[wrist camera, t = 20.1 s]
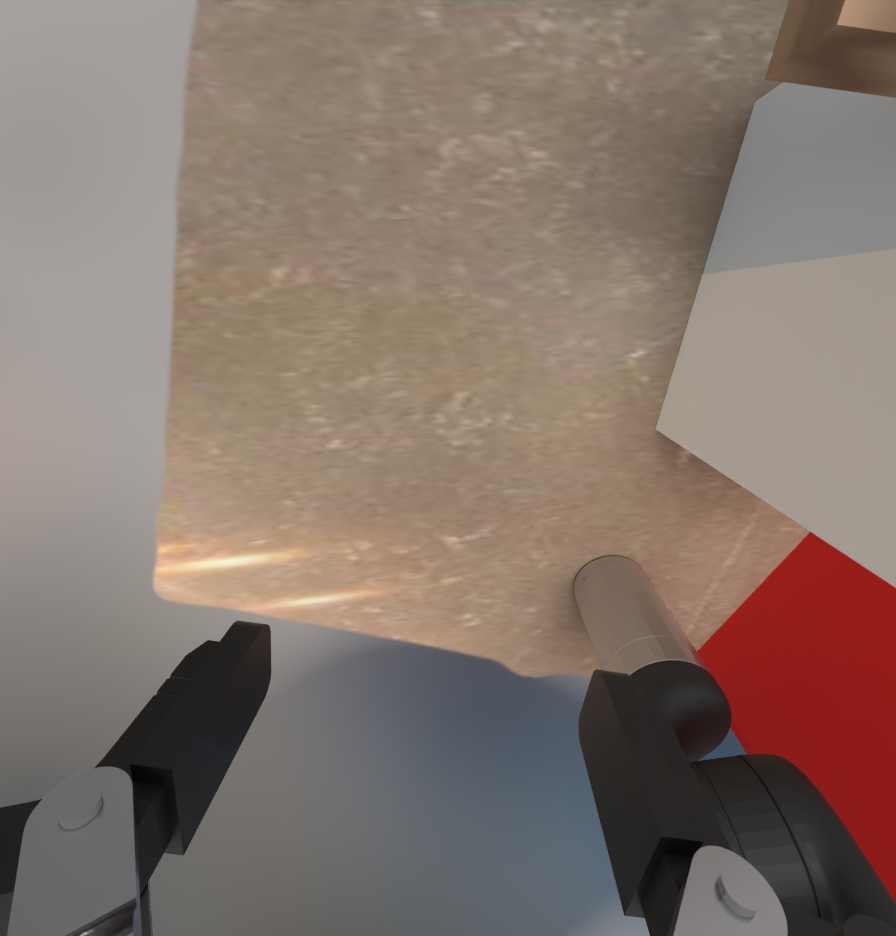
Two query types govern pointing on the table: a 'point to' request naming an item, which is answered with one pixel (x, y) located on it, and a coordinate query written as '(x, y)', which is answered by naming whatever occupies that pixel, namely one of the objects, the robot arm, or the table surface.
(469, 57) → the table surface
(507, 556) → the table surface
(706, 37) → the table surface
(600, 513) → the table surface
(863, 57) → the handled cube
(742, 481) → the riser
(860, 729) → the book
